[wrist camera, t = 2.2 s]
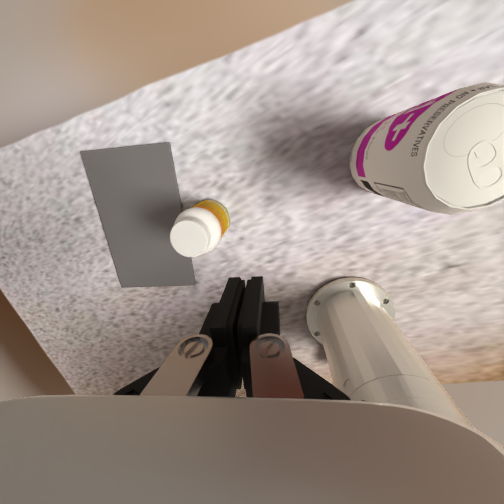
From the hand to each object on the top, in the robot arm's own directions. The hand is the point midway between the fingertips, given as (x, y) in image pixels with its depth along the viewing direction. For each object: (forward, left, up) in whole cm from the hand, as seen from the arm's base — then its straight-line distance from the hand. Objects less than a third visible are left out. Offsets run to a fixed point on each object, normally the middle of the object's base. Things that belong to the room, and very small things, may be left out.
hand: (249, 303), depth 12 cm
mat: (0, +17, -22) cm, 28 cm away
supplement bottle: (0, +7, -22) cm, 23 cm away
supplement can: (+6, -15, -22) cm, 27 cm away
